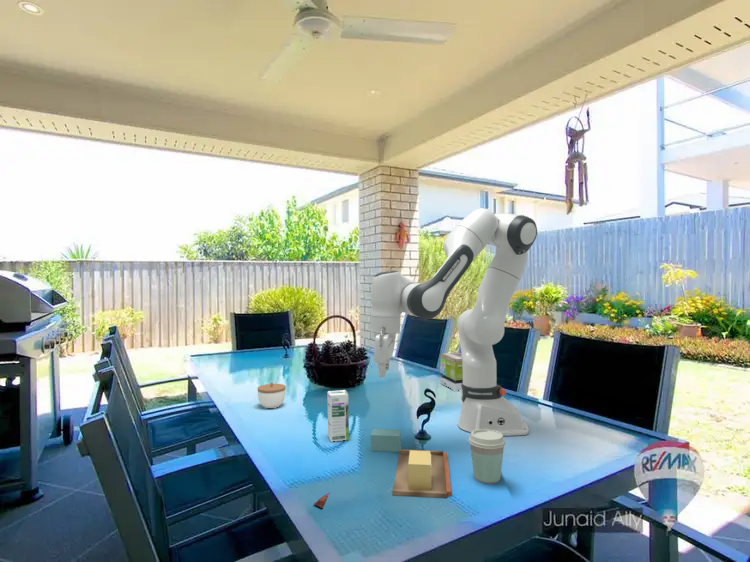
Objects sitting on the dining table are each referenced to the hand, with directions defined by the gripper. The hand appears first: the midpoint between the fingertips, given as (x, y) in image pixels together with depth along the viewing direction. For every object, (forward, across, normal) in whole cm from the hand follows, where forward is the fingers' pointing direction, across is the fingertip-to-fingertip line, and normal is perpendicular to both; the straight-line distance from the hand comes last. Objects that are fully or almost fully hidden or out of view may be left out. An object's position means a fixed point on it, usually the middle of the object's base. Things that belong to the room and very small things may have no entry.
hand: (384, 373), depth 127 cm
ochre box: (+20, -23, -12) cm, 33 cm away
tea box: (+21, +76, -26) cm, 83 cm away
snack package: (+23, -30, +6) cm, 38 cm away
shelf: (+22, -18, -12) cm, 30 cm away
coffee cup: (+22, -19, -28) cm, 40 cm away
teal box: (+22, -3, -2) cm, 22 cm away
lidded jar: (+24, +38, +48) cm, 65 cm away
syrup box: (+23, +7, +15) cm, 28 cm away
